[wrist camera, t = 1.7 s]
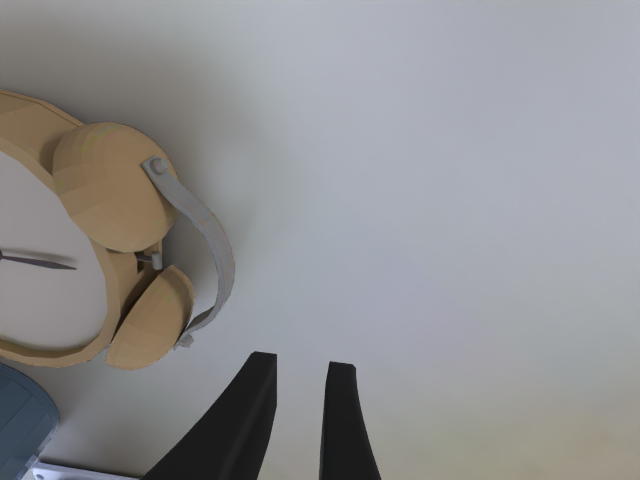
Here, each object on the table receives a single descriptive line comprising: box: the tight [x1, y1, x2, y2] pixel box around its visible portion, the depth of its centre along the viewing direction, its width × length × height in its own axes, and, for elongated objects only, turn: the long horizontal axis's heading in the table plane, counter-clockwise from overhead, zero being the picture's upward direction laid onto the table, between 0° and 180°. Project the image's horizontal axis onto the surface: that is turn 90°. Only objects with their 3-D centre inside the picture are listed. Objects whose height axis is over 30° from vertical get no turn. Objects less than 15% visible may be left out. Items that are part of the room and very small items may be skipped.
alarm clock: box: [0, 90, 235, 370], centre depth 18 cm, size 11×5×15 cm
